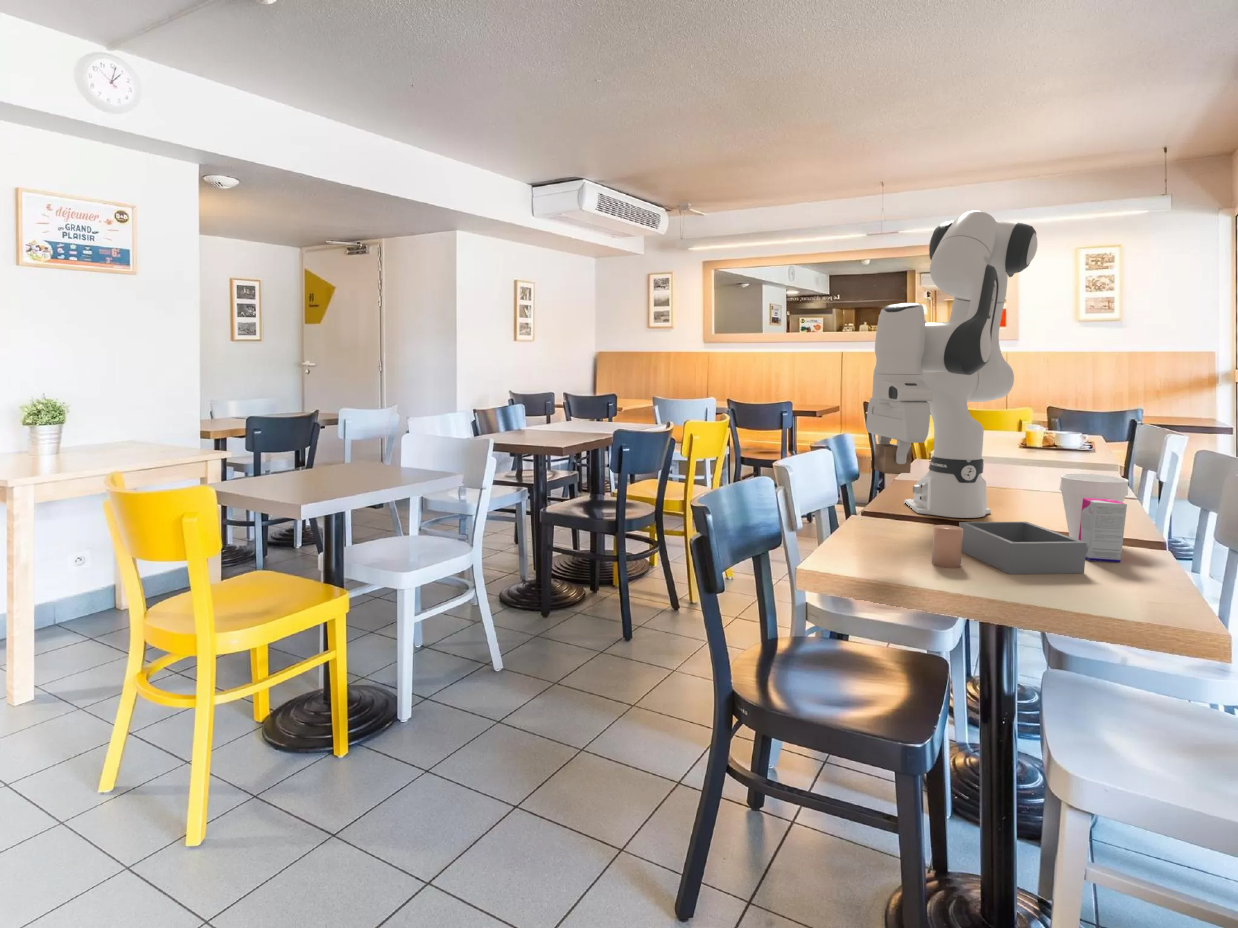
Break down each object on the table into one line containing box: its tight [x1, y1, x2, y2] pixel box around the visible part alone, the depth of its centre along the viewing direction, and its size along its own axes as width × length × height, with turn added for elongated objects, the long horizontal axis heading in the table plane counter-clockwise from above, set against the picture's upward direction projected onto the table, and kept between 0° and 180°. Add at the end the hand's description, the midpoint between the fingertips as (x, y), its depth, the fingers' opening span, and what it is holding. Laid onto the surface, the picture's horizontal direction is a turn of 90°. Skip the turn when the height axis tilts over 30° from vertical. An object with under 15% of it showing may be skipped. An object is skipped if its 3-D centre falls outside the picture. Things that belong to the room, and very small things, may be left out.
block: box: [873, 443, 913, 474], centre depth 143 cm, size 5×5×5 cm
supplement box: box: [1078, 498, 1128, 563], centre depth 143 cm, size 6×6×12 cm
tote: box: [958, 521, 1087, 575], centre depth 141 cm, size 18×14×6 cm
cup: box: [1059, 473, 1130, 540], centre depth 157 cm, size 12×12×14 cm
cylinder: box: [931, 524, 963, 569], centre depth 138 cm, size 5×5×7 cm
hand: (892, 461), depth 143 cm, fingers closed on block, 5 cm apart
